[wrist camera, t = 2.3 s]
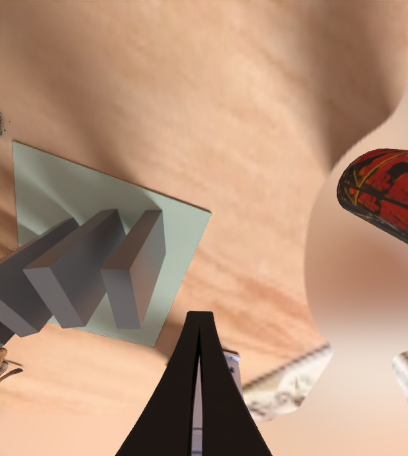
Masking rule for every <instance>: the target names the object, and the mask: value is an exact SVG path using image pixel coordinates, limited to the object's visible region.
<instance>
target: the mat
mask: <svg viewBox="0 0 408 456" xmlns="http://www.w3.org/2000/svg"><path fill="white" fill-rule="evenodd" d="M12 149H13V165H14V181H15V197H16V213H17V230H18V246H19V248H20V247H21V246H23V245H24V244H26V243H28V242H29V241H31V240H33V239H34V238H36V237H37V236H39V235H41V234H42V233H44V232H46V231H47V230H49V229H50V228H52V227H54V226H55V225H57V224H59V223H60V222H62V221H65V220H68V219H70V218H73V217H74V218H75V220H76V221H77V222H78V224H79V225H80V226H81V225H82V224H84V223H85V222H86V221H88V220H89V219H91V218H92V217H93V216H95V215H96V214H97V213H99V212H100V211H101V210H110V209H117V210H118V213H119V216H120V218H121V221H122V224H123V227H124V230H125V233H126V235H127V234H128V233H129V231H130V230H131V229H132V227H133V226H134V225H135V224H136V222H137V221H138V220H139V218H140V217H141V216H142V215H143V213H144V212H145V211H146V210H163V222H164V234H165V246H166V255H165V258H164V261H163V264H162V267H161V270H160V273H159V276H158V279H157V282H156V285H155V288H154V291H153V294H152V297H151V300H150V303H149V306H148V309H147V312H146V315H145V318H144V321H143V324H142V327H141V329H117V327H116V323H115V320H114V316H113V313H112V309H111V305H110V302H109V298H108V295H107V292H106V294H105V296H104V297H103V299H102V300H101V302H100V304H99V305H98V307H97V308H96V310H95V312H94V313H93V315H92V316H91V318H90V320H89V321H88V323H87V325H86V326H85V327H76V328H73V329H77V330H81V331H85V332H90V333H94V334H98V335H102V336H107V337H111V338H115V339H119V340H123V341H128V342H132V343H136V344H140V345H145V346H149V347H154V345H155V343H156V340H157V338H158V336H159V334H160V331H161V329H162V327H163V324H164V322H165V320H166V318H167V315H168V313H169V311H170V308H171V306H172V304H173V301H174V299H175V297H176V295H177V292H178V290H179V288H180V285H181V283H182V281H183V279H184V276H185V274H186V272H187V269H188V267H189V265H190V262H191V260H192V258H193V256H194V253H195V251H196V249H197V246H198V244H199V242H200V240H201V237H202V235H203V233H204V230H205V228H206V226H207V224H208V221H209V219H210V217H211V214H212V213H211V212H208V211H205V210H202V209H200V208H197V207H194V206H191V205H189V204H186V203H183V202H180V201H178V200H175V199H172V198H169V197H167V196H164V195H161V194H158V193H156V192H153V191H150V190H148V189H145V188H142V187H139V186H137V185H134V184H131V183H128V182H126V181H123V180H120V179H117V178H115V177H112V176H109V175H106V174H104V173H101V172H98V171H95V170H93V169H90V168H87V167H84V166H82V165H79V164H76V163H73V162H71V161H68V160H65V159H62V158H60V157H57V156H54V155H51V154H49V153H46V152H43V151H41V150H38V149H35V148H32V147H30V146H27V145H24V144H21V143H19V142H16V141H12ZM47 323H52V324H56V325H60V324H59V323H58V321H57V320H56V318H55V317H54V316H52V317H51V318H50V319H49V321H48V322H47Z"/></svg>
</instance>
